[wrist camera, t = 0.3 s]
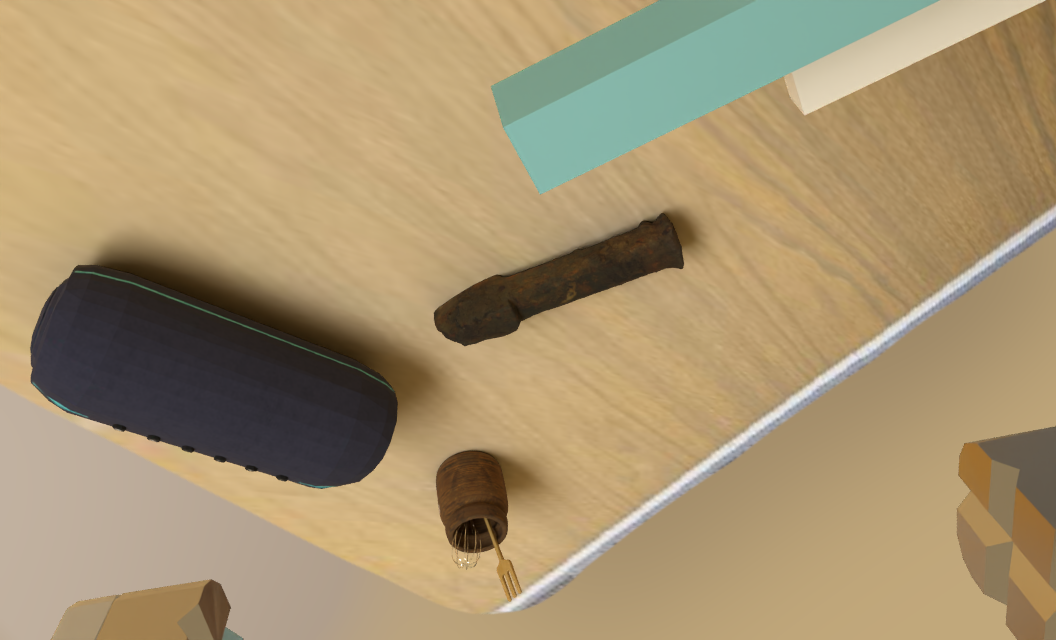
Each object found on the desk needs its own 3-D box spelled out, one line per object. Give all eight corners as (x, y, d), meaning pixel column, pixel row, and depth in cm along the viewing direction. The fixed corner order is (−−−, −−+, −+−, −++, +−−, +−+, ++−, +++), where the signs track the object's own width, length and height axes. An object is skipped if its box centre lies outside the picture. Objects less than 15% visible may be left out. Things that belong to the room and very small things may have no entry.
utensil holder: (464, 438, 83) (481, 553, 74) (517, 465, 86) (540, 578, 77) (420, 478, 85) (432, 593, 76) (474, 503, 89) (491, 616, 79)
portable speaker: (27, 323, 68) (-9, 424, 61) (79, 220, 64) (46, 315, 56) (344, 432, 80) (346, 528, 73) (406, 352, 76) (416, 445, 68)
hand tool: (666, 202, 71) (683, 238, 67) (675, 244, 73) (692, 280, 70) (421, 281, 72) (426, 321, 68) (439, 320, 75) (444, 360, 71)
